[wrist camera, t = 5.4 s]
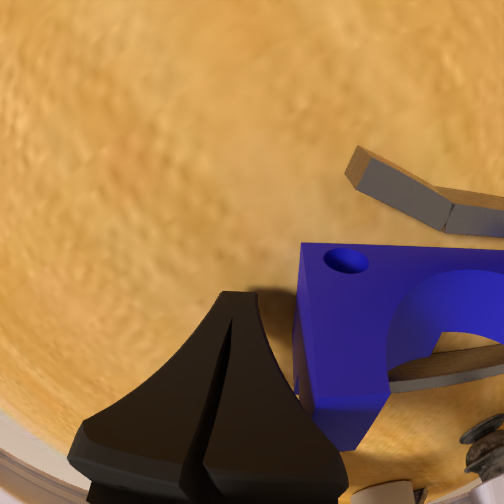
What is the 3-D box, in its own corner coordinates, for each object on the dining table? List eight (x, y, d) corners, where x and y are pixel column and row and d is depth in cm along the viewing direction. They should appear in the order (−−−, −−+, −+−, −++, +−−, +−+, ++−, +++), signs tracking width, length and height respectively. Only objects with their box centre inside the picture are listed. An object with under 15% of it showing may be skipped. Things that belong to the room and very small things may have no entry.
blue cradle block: (292, 335, 13) (294, 469, 8) (301, 242, 10) (318, 397, 5) (505, 323, 12) (551, 408, 7) (538, 252, 10) (607, 334, 5)
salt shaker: (509, 419, 19) (536, 511, 9) (463, 447, 21) (482, 539, 11) (505, 405, 17) (538, 515, 7) (450, 438, 20) (472, 548, 9)
